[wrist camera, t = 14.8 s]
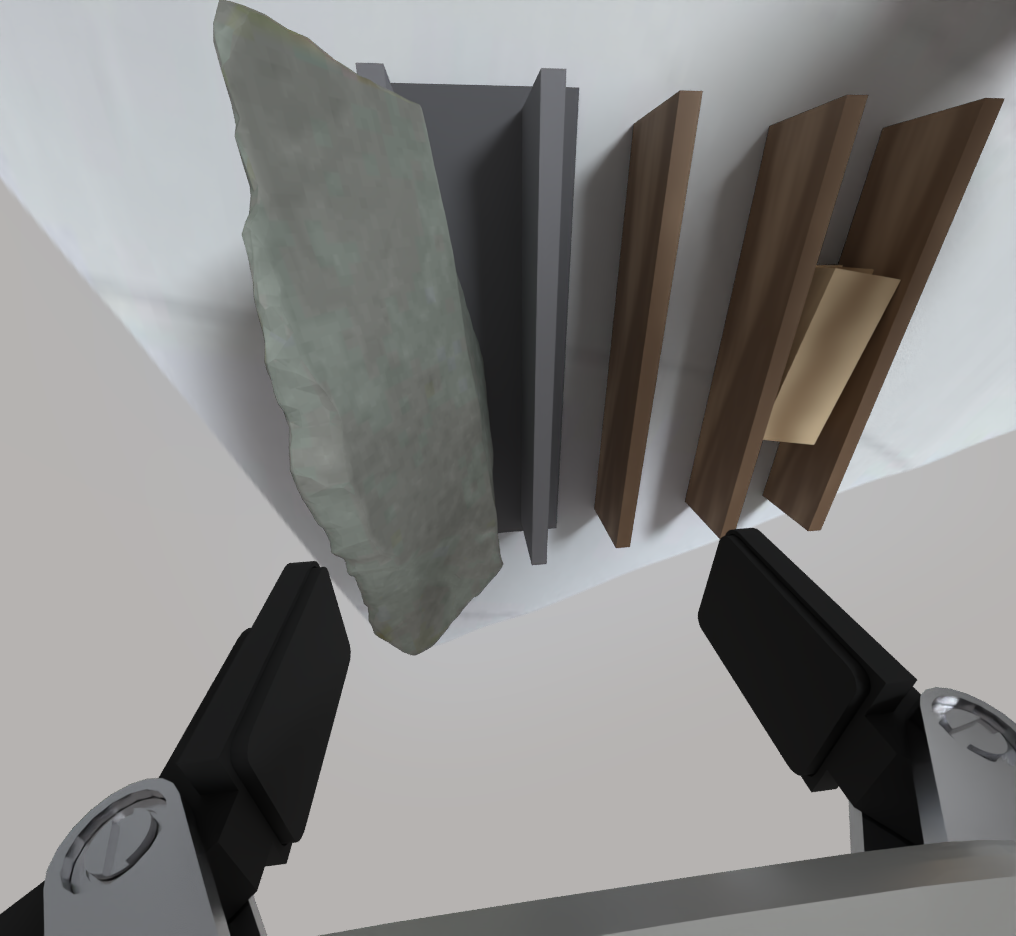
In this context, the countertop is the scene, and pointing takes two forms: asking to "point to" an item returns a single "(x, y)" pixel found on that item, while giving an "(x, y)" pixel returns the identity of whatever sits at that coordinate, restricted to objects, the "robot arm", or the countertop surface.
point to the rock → (364, 326)
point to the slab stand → (511, 266)
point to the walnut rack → (774, 294)
